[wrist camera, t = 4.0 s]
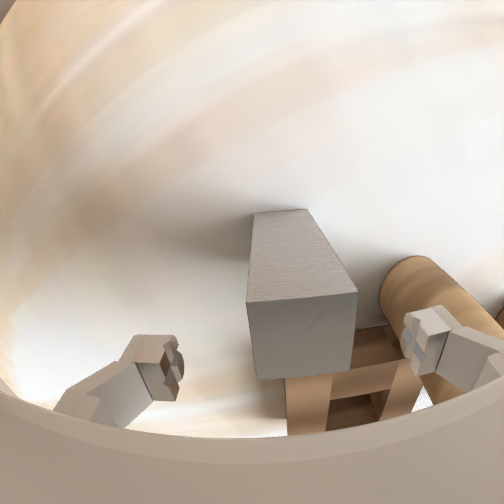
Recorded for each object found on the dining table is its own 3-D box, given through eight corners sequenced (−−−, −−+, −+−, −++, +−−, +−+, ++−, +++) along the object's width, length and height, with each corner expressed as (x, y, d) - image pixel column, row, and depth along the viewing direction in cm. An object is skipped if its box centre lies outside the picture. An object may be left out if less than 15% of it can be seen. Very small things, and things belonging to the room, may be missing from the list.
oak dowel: (382, 259, 18) (459, 355, 9) (444, 252, 18) (529, 328, 8) (374, 324, 20) (422, 427, 11) (431, 314, 20) (491, 399, 10)
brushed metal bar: (254, 213, 17) (245, 302, 8) (307, 209, 17) (358, 291, 8) (259, 262, 18) (256, 380, 9) (309, 257, 18) (349, 370, 9)
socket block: (282, 338, 21) (285, 377, 17) (415, 320, 20) (436, 350, 16) (286, 419, 25) (288, 451, 21) (390, 402, 24) (401, 431, 20)
